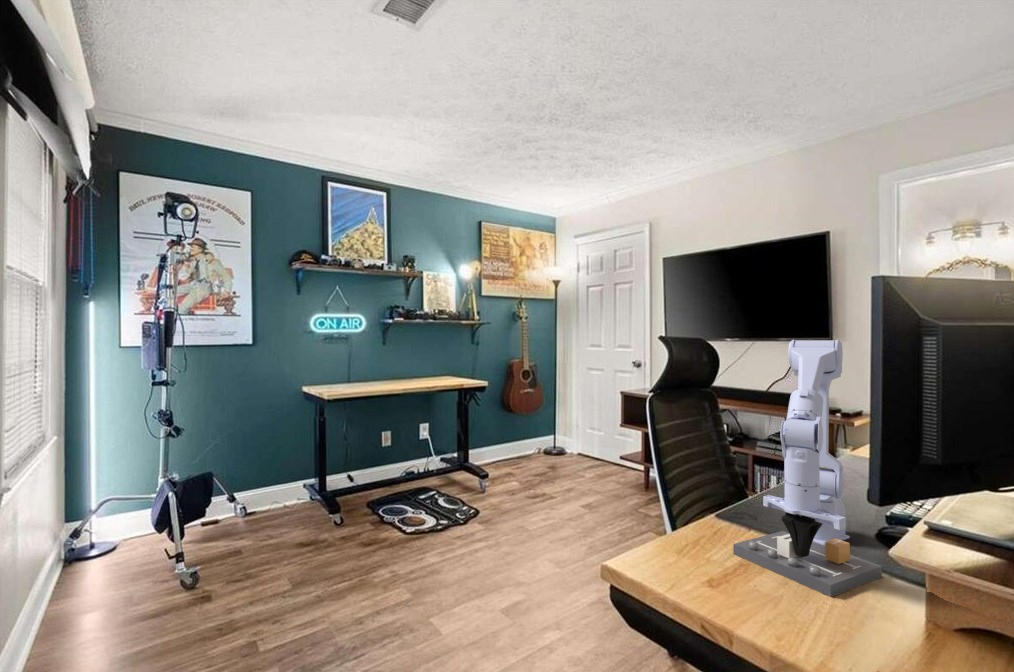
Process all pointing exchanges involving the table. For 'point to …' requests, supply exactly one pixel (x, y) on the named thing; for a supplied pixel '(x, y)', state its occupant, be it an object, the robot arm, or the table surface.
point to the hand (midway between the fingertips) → (802, 555)
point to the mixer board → (809, 565)
